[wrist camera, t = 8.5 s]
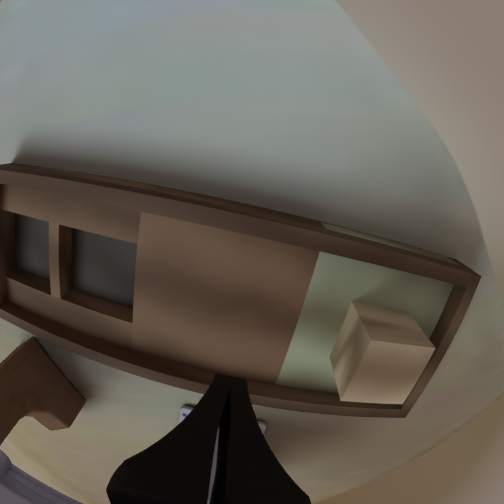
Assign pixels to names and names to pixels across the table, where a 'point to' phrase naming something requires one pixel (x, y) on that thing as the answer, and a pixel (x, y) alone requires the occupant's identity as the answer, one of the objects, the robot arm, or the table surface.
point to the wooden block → (35, 390)
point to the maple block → (378, 355)
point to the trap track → (209, 286)
